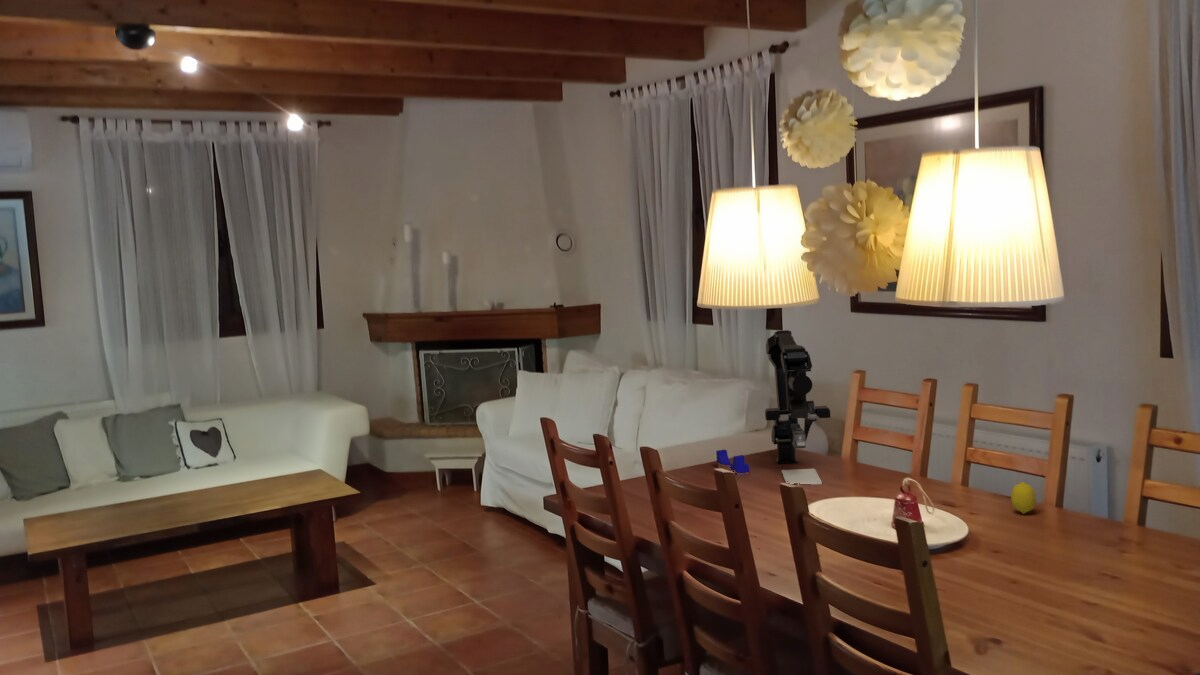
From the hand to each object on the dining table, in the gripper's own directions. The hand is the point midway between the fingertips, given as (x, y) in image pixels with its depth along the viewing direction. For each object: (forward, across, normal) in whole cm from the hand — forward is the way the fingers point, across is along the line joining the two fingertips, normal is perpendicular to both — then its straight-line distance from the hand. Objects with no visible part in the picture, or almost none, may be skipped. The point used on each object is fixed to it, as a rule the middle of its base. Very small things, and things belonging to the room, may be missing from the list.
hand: (798, 441), depth 282 cm
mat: (+11, 0, -1) cm, 11 cm away
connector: (+1, 0, -2) cm, 2 cm away
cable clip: (+11, -20, +12) cm, 25 cm away
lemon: (+11, +49, -46) cm, 68 cm away
